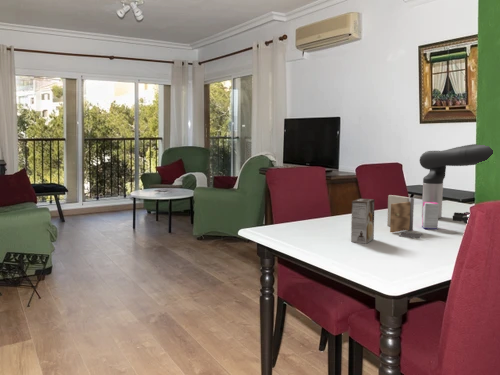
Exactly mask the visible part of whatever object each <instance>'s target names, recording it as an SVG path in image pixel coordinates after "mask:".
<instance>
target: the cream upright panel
mask: <svg viewBox="0 0 500 375" xmlns="http://www.w3.org/2000/svg"><path fill="white" fill-rule="evenodd" d="M387 197H388V198H387V221H386V222H387V223H386V224H387V227H390V219H391V204H394V203H402V202H410V229H409V230H408V231H413V229H414V208H415V207H414V204H415V198H414V197H409V196H408V197H407V196H401V195H395V194H393V195H392V194H389V195H387Z"/></svg>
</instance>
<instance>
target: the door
mask: <svg viewBox="0 0 500 375" xmlns="http://www.w3.org/2000/svg"><path fill="white" fill-rule="evenodd" d="M409 229H410V202H402V203H394V204H391V219H390V226H389V233H397V232H405V231H410V230H409Z"/></svg>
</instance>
